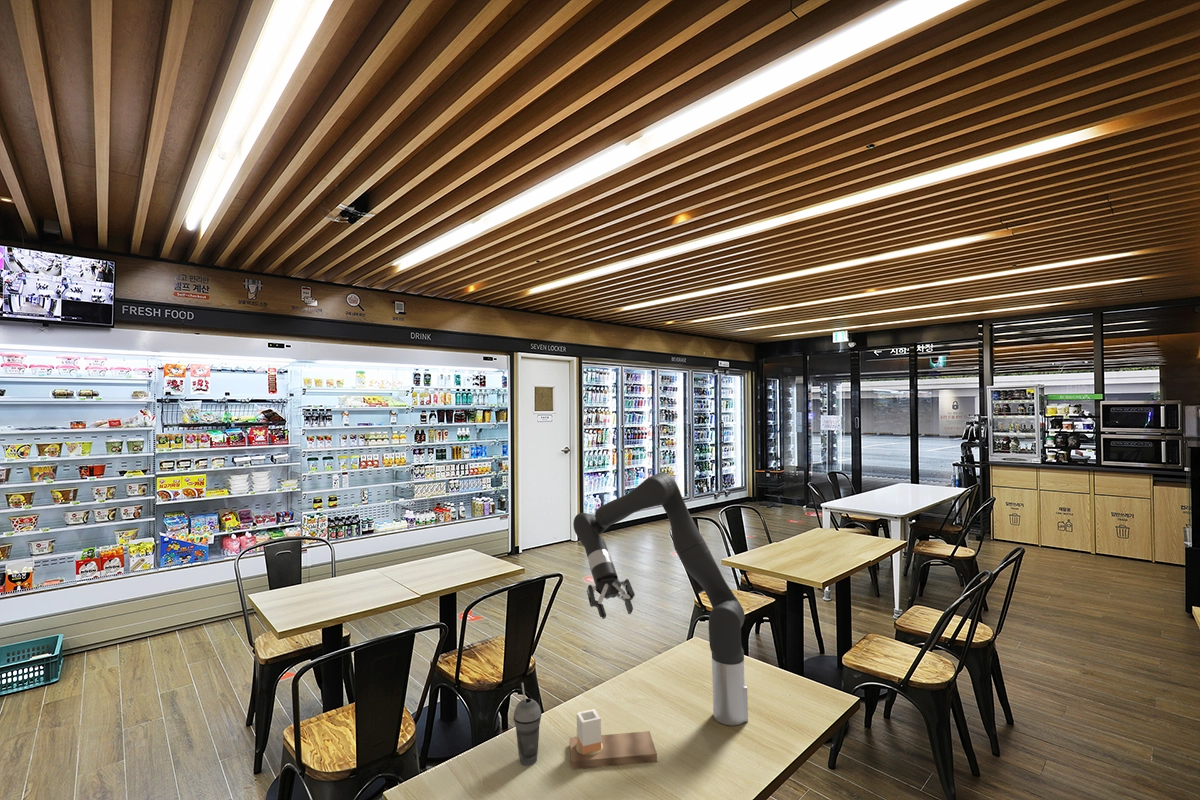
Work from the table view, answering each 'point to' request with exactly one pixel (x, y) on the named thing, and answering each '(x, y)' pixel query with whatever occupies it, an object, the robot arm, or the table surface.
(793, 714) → the table surface
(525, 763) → the beverage cup
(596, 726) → the sleeve
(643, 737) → the pin board
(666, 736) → the table surface
